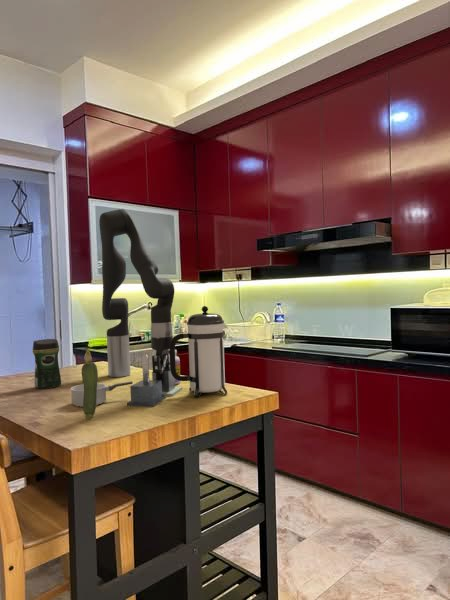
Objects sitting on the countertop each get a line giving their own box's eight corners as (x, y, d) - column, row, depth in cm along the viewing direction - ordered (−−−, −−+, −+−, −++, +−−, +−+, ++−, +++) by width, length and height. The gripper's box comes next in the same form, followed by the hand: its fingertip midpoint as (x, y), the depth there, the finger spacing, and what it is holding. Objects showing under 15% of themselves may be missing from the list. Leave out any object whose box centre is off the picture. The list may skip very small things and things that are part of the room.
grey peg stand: (140, 397, 148) (139, 353, 147) (166, 397, 146) (164, 352, 145) (126, 406, 137) (124, 358, 136) (153, 406, 135) (151, 358, 135)
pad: (155, 388, 160) (155, 386, 160) (181, 389, 158) (181, 387, 158) (145, 395, 150) (145, 393, 150) (172, 396, 148) (172, 393, 148)
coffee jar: (59, 383, 176) (57, 337, 176) (62, 386, 169) (60, 338, 169) (33, 386, 171) (30, 339, 171) (35, 390, 164) (33, 341, 164)
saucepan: (136, 401, 143) (136, 384, 142) (72, 410, 134) (71, 392, 134) (129, 394, 153) (128, 378, 153) (68, 402, 144) (67, 385, 144)
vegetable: (85, 416, 127) (82, 347, 126) (100, 415, 127) (98, 347, 127) (81, 421, 122) (78, 349, 122) (97, 420, 123) (94, 349, 122)
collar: (159, 387, 157) (158, 368, 157) (174, 388, 156) (174, 368, 156) (152, 391, 152) (152, 371, 151) (169, 392, 150) (168, 371, 150)
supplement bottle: (173, 386, 163) (172, 351, 163) (159, 384, 167) (158, 351, 166) (183, 382, 169) (182, 349, 169) (170, 381, 172) (168, 348, 172)
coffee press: (201, 386, 161) (198, 305, 161) (238, 390, 152) (234, 304, 151) (169, 396, 147) (166, 307, 146) (207, 402, 138) (204, 307, 137)
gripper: (159, 333, 161) (160, 378, 161) (143, 337, 147) (145, 386, 147) (178, 333, 159) (180, 378, 160) (164, 337, 145) (166, 387, 146)
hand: (163, 382), depth 154 cm, fingers open, 7 cm apart
